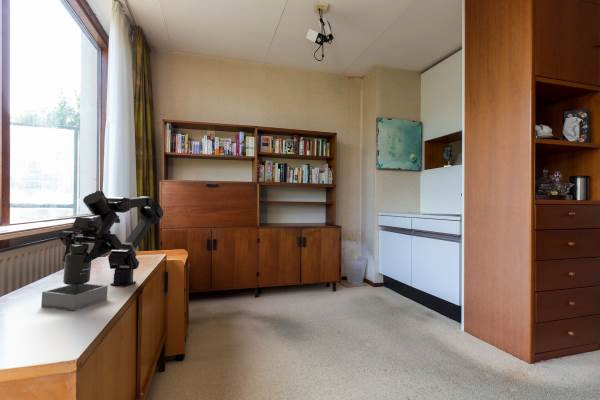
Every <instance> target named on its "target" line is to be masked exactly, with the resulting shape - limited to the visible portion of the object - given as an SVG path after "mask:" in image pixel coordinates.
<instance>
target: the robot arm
mask: <svg viewBox="0 0 600 400" xmlns="http://www.w3.org/2000/svg"><path fill="white" fill-rule="evenodd" d="M82 202H83V203H84V205H85V206H86V207H87V208H88V211H89V212H90V213H91V215H94V216H93V217H92V218H91V217H84V216H83V217H81V216H76V217H75V219H74V221H73V223H72V226H71V227H73V228H75V229H78V230H79V231H78V232H79V234H80V235H78V234H77V233H76V232H75V231H65V230H64V231H61V232H59V235H57V238H58V240H60V242H61V243H62V244H63V245H64V246H65V250H64V255H63V257H62V258H63V259H62V262H64V263H65V256H66V255H67V254H68V253H70V251H69V249H70V245H71V244H89V245H93V247H92V248H91V250H90V252H89V254H88V256H87V257H86V259H85V261H84V262H85V263H86V264H87V263H89V262H91V263H92V261H95V260H96V259H97V258H99V257H100V256H102V255H105V254H107V253H108V252H109V255H108V258H107V260H108V264H109V268H110V270H113V269H114V274H113V282H112V283H110V284H109V285H110V286H115V287H127V286H130V285H133V284H136V283H137V280H134V270H137V269H138V268H139V265H140V262H139V260H138V258H137V248H138V247H139V245H140V244H141V242H142V241H143V239H144V237H145V236H146V235H147V233H148V231H149V230H150V229H151V227H152V226H153V225H155V224H157V223H158V222H160V220H161V219H162V218H163V216H164V210H163V208H162V206H161V205H160V204H159V203H157V202H156V201H155V200H154V199H153V198H152V197H151V196H148V195H147V196H141V195H140V196H138V197H137V196H136V197H123V196H121V197H119V196H108V197H106V196H105V193H104V191H102V190H96V191H95V192H92V193H89V194H88V195H86V196H84V198H83V199H82ZM133 208H138V212H139V213H140V220H139V221H138V223H137V224H136V226H135V227H134V229H133V230H132V231H131V233H130V234H129V235H128V237H127V238H126V239H125V241H124V242H123V243H122V242H121V240H120V239H119V237H118V235H116V233H112V231H111V228H112V227H113V226H114V224H120V223H121V219H120V215H118V214H119V213H121V214H122V213H123V214H124V213H126V212H127V213H128V212H129V211H131V209H133ZM117 213H118V214H117Z"/></svg>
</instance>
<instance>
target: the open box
mask: <svg viewBox="0 0 600 400" xmlns="http://www.w3.org/2000/svg"><path fill="white" fill-rule="evenodd" d="M106 300H108V285H106V284H105V285H103V284H95V283H88V282H87V283H84V284H77V285H67V284H66V285H63V286H59V287H56V288H55V287H54V288H52V289H48V290H44V291H42V292H41V303H40V304H41V308H48V309H53V308H55V310H63V311H70V312H76V311H78V309H79V310H80V309H85V308H87V307H89V306H92V305H94V304H95V305H96V304H97V303H98V304H99V303H100V302H103V301H106ZM75 310H76V311H75Z"/></svg>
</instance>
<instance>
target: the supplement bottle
mask: <svg viewBox="0 0 600 400" xmlns="http://www.w3.org/2000/svg"><path fill="white" fill-rule="evenodd" d="M89 247H90V244H88V243H81V244H71V245H70V249H69V251H70V253H68V254H67V255H66V256H65V262H64V267H63V276H62V277H63V280H62V282H63V284H64V285H66V286H67V285H77V284H84V283H87V284H88V283H89V282H90V280H91V270H92V261H91V262H89V263H87V264H86V263H85V262H84V261H85V259H86V257H87V256H88V254H89V253H90V252H89Z"/></svg>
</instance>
